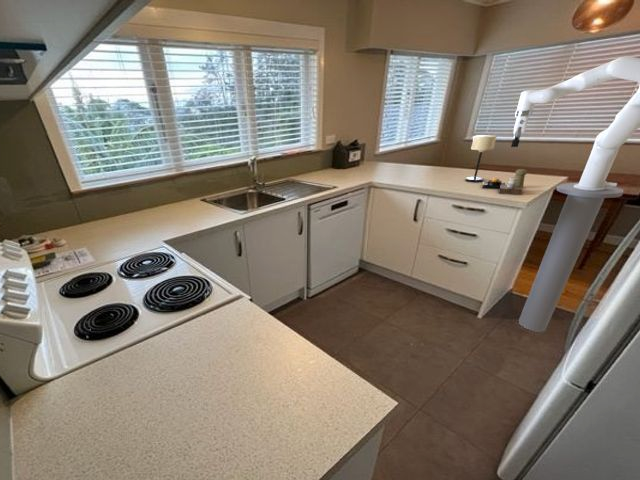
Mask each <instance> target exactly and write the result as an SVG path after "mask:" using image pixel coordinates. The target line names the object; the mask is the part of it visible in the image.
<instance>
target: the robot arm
mask: <svg viewBox="0 0 640 480" xmlns="http://www.w3.org/2000/svg"><path fill="white" fill-rule="evenodd" d="M617 78H618V79H622V80H625V81H631V82H636V83H638V85H639V87H638V89H637V90H636V92H635V93H634V95H633V96H631V98H630V99H629V101H628V102H627V103H626V104H625V105H624V106H623V108H622V109H621V110H620V111H619V112H618V113H617V114H616V115H615V118H614V120H613V121H612V123H611V124H610V125H609V126H608V127H607V128H606V129H604V130H602V131H600V132H599V134H598V135H596V138H595V141H594V142H593V146H592V149H591V151H590V155H589V157H588V159H587V162H586V164H585V167H584V169H583V171H582V174H581V177H580V180H579V181H578V183H579V184H575V185H574V188H576V189H581V190H589V191H602V190H606V187H607V186H611V187H618V186H617V185H618V182H610V181H607V177H608V176H609V173H610V171H611V168H612V166H613V164H614V161H615V159H616V158H617V155H618V153H619V150H620V148H621V146H622V145H624V144H625V143H626V142H627V141H628V140H629V139H630V138H631V137H632V135H634V133H635V132H636V131H637V130H638V129H639V128H640V58H639V57H635V56H629V55H626V56H621V57H618V58H615V59H614V60H611V61H608V62H606V63H603V64H601V65H599V66H596V67H593V68H591V69H589V70H586V71H584V72H581V73H579V74H577V75H575V76H574V77H571V78H569V79H567V80H565V81H562V82H560V83H557V84H555V85H552V86H549V87H547V88H542V89H528V90H527V89H526V90H524V91H522V92H521V93H520V96H519V100H518V103H517V107H516V111H515V115H514V118H516V120H515V124H514V127H513V139H512V142H511V143H510V148H518V147H519V144H520V138H521V135H523V136H524V135H525V134H526V133H525V132H526V130H527V127H528V123H529V118H530V117H532V116H533V112H534V109H535V105H536V104H548V103H550V102H552V101H555V100H557V99H560V98H563V97H565V96H568V95H571V94H574V93H577V92H582V91H585V90H587V89H590V88H593V87H595V86H599V85H600V84H604V83H606V82H609V81H611V80H614V79H617Z"/></svg>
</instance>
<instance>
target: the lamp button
mask: <svg viewBox="0 0 640 480" xmlns="http://www.w3.org/2000/svg"><path fill="white" fill-rule="evenodd" d="M491 180H492V181H493V182H498V181H499V180H500V178H498V177H493V178H491Z"/></svg>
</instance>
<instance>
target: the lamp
mask: <svg viewBox="0 0 640 480" xmlns="http://www.w3.org/2000/svg"><path fill="white" fill-rule="evenodd" d="M497 137H498V136H497V135H495V134H479V135H474V136H473V138H472V142H471V148H470V149H471V150H473V151H478V153H479V154H478V159H477V162H476V167H475V171H474V175H473V176H467V177H465V182H468V183H484V177H480V176H478V173H479V172H478V171H479V167H480V164H481V159H482V155H483V152H485V151H491V150H494V147H495V144H496V140H497Z"/></svg>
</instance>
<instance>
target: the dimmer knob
mask: <svg viewBox="0 0 640 480" xmlns="http://www.w3.org/2000/svg"><path fill="white" fill-rule="evenodd" d="M517 181H518V178H515V176H513V177H509V178H508V181H507V184H506V185H507V187H508V188H515V187H516V184H517Z"/></svg>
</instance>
